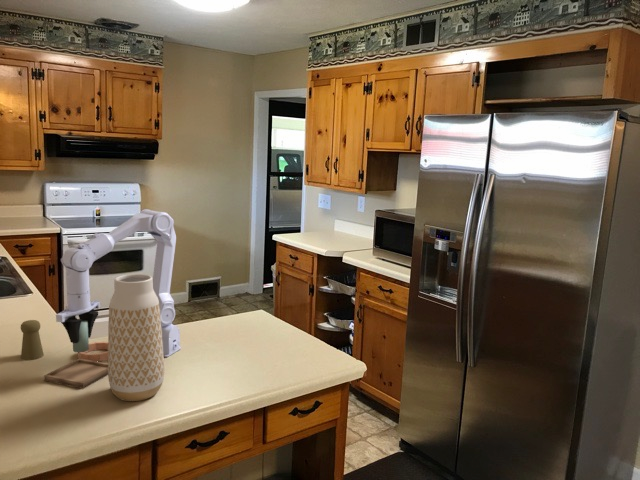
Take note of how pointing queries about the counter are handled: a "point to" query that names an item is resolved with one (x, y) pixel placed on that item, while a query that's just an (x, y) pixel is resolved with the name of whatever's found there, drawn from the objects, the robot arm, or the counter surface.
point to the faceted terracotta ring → (95, 357)
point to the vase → (135, 339)
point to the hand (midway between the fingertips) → (80, 339)
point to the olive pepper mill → (31, 340)
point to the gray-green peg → (82, 338)
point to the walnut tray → (78, 373)
